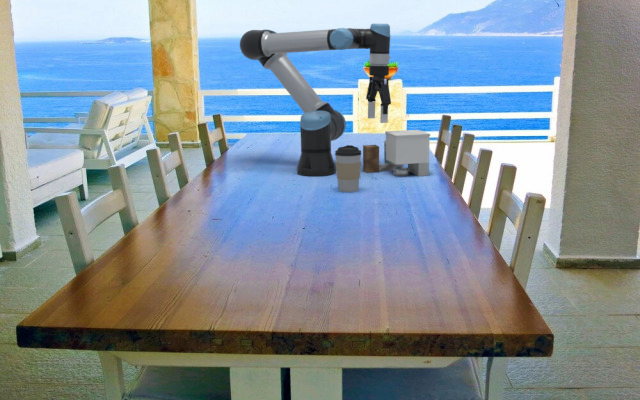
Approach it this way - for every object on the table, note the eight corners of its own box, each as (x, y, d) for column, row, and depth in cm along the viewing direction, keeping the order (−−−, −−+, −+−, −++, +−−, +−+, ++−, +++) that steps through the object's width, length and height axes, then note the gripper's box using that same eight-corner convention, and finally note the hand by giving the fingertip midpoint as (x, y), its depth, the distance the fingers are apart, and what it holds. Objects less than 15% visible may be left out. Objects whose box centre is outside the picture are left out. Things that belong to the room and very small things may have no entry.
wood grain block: (366, 172, 266) (366, 147, 264) (363, 170, 271) (363, 145, 268) (402, 170, 269) (402, 145, 267) (398, 168, 274) (398, 143, 271)
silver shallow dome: (396, 177, 258) (396, 170, 257) (391, 174, 263) (391, 167, 263) (411, 176, 259) (411, 169, 258) (406, 173, 265) (406, 166, 264)
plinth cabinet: (395, 177, 255) (395, 135, 252) (385, 171, 267) (385, 131, 263) (429, 175, 258) (430, 133, 255) (417, 169, 270) (418, 129, 266)
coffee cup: (359, 193, 232) (359, 149, 228) (333, 192, 233) (332, 148, 230) (363, 187, 240) (363, 144, 237) (337, 186, 242) (337, 144, 239)
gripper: (401, 66, 252) (398, 124, 257) (376, 63, 276) (375, 116, 281) (382, 66, 250) (380, 124, 255) (359, 63, 273) (357, 116, 279)
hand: (377, 120), depth 268 cm, fingers open, 13 cm apart
